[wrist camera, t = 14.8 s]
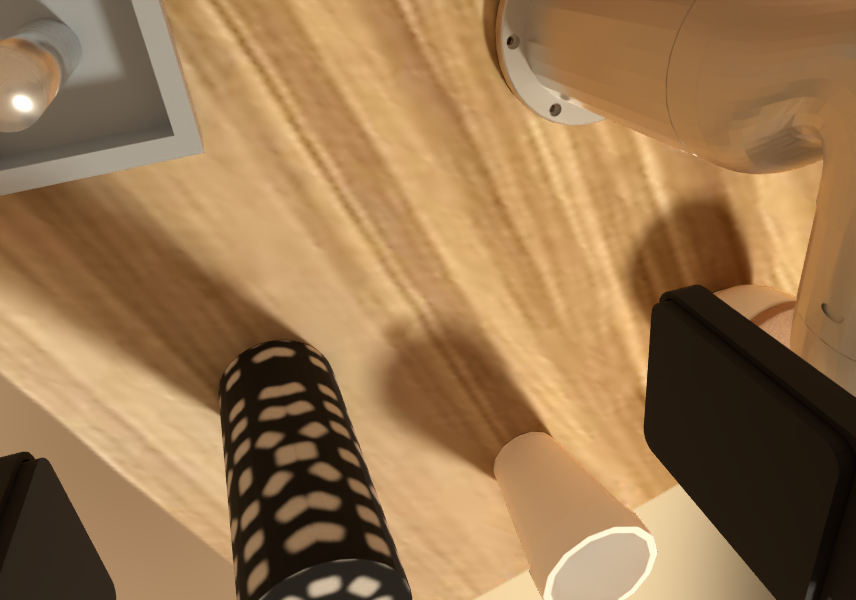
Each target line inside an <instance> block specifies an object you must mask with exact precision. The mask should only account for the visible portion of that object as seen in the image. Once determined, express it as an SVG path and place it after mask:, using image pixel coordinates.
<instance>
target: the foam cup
mask: <svg viewBox="0 0 856 600" xmlns="http://www.w3.org/2000/svg"><path fill="white" fill-rule="evenodd" d="M493 471H494V474H495V477H496V480H497V482H498V485H499V488H500V490H501V493H502V495H503V498H504V501H505V503H506V506H507V508H508V511H509V514H510V516H511V519H512V521H513V524H514V527H515V529H516V532H517V534H518V537H519V539H520V542H521V545H522V547H523V550H524V552H525V555H526V558H527V560H528V563H529V565H530V570H529V572H530V575H531V577H532V579H533V581H534V583H535V585H536V587H537V589H538V591H539V593H540V595H541V596H542V598H543V600H625V599H626V598H627V597H629V596H630V595H632V594H633V593H634V592H635V591H636V590H637V589H638V588H639V586H640V585H641V584H642V583H643V581H644V580H645V579H646V578H647V576H648V575H649V574H650V573H651V570H652V567H653V564H654V561H655V558H656V555H657V549H656V545H655V541H654V538H653V535H652V534H651V533H650V532H649V530H648V529H647V528H646V526H645V525H644V524H643V523H642V521H641V520H640V519H639V518H638V516H637V515H636V514H635V513H634V512H632V511H631V510H629V509H628V508H626V507H625V506H623V505H622V504H621V503H620V502H619V501H618V500H617V499H616V498H615V497H614V496H613V495H612V494H611V493H610V492H609V491H608V490H607V489H606V488H605V487H604V486H603V485H602V484H601V483H600V482H599V481H598V480H597V479H595V478H594V477H593V476H592V475H591V474H590V473H589V472H588V471H587V470H586V469H585V468H584V467H583V466H582V465H581V464H580V463H579V462H578V461H577V460H576V459H575V458H574V457H573V456H572V455H571V454H570V453H569V452H568V451H566V450H565V449H564V448H563V447H562V446H561V445H560V444H559V443H558V442H557V441H555V439H554V438H552V437H551V436H549V435H548V434H546V433H545V432H528V433H525V434H523V435H520V436H517V437H515V438H514V439H513V440H511V441H510V442H509V443H507V444H506V445H505V446H503V448H502V449H501V451H500V452H499V454H498V455H497V457H496V458H495V464H494V470H493Z"/></svg>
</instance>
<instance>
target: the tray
mask: <svg viewBox="0 0 856 600" xmlns="http://www.w3.org/2000/svg"><path fill="white" fill-rule="evenodd" d="M39 18H50V19H55V20H58V21H60V22H62V23H64V24H66V25H67V26H68V27H69V28H71V29H72V30H73V31H74V33H75V34H76V35H77V37H78V39H79V41H80V44H81V47H82V58H81V61H80V63H79V65H78V67H77V68H76V69H75V71H74V72H73V73H72V75H71V76H70V77H69V79H68V80H67V81H66V83H65V84H64V85H63V87H62V88H61V89H60V91H59V92H58V93H57V95H56V96H55V97H54V99H53V100H52V102H51V103H50V104H49V106H48V107H47V108H46V110H45V111H44V112H43V114H42V115H41V116H40V118H39V119H38V120H37V121H36V122H35V123H34V124H33V125H32V126H30V127H28V128H27V129H24V130H22V131H18V132H0V196H2V195H7V194H12V193H16V192H21V191H26V190H30V189H35V188H40V187H45V186H49V185H54V184H59V183H64V182H68V181H73V180H78V179H83V178H87V177H92V176H97V175H102V174H106V173H111V172H116V171H121V170H125V169H130V168H135V167H140V166H144V165H149V164H154V163H159V162H163V161H168V160H173V159H178V158H182V157H187V156H192V155H197V154H201V153H204V146H203V138H202V132H201V129H200V126H199V122H198V119H197V116H196V112H195V109H194V106H193V102H192V99H191V96H190V92H189V89H188V85H187V82H186V79H185V75H184V72H183V69H182V65H181V62H180V59H179V55H178V52H177V49H176V45H175V42H174V38H173V35H172V32H171V28H170V25H169V22H168V18H167V15H166V12H165V8H164V5H163V2H162V0H0V40H1V39H3V38H5V37H6V36H8V35H10V34H11V33H13V32H15V31H16V30H18V29H20V28H21V27H23V26H25V25H26V24H28V23H30V22H31V21H33V20H36V19H39Z"/></svg>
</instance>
